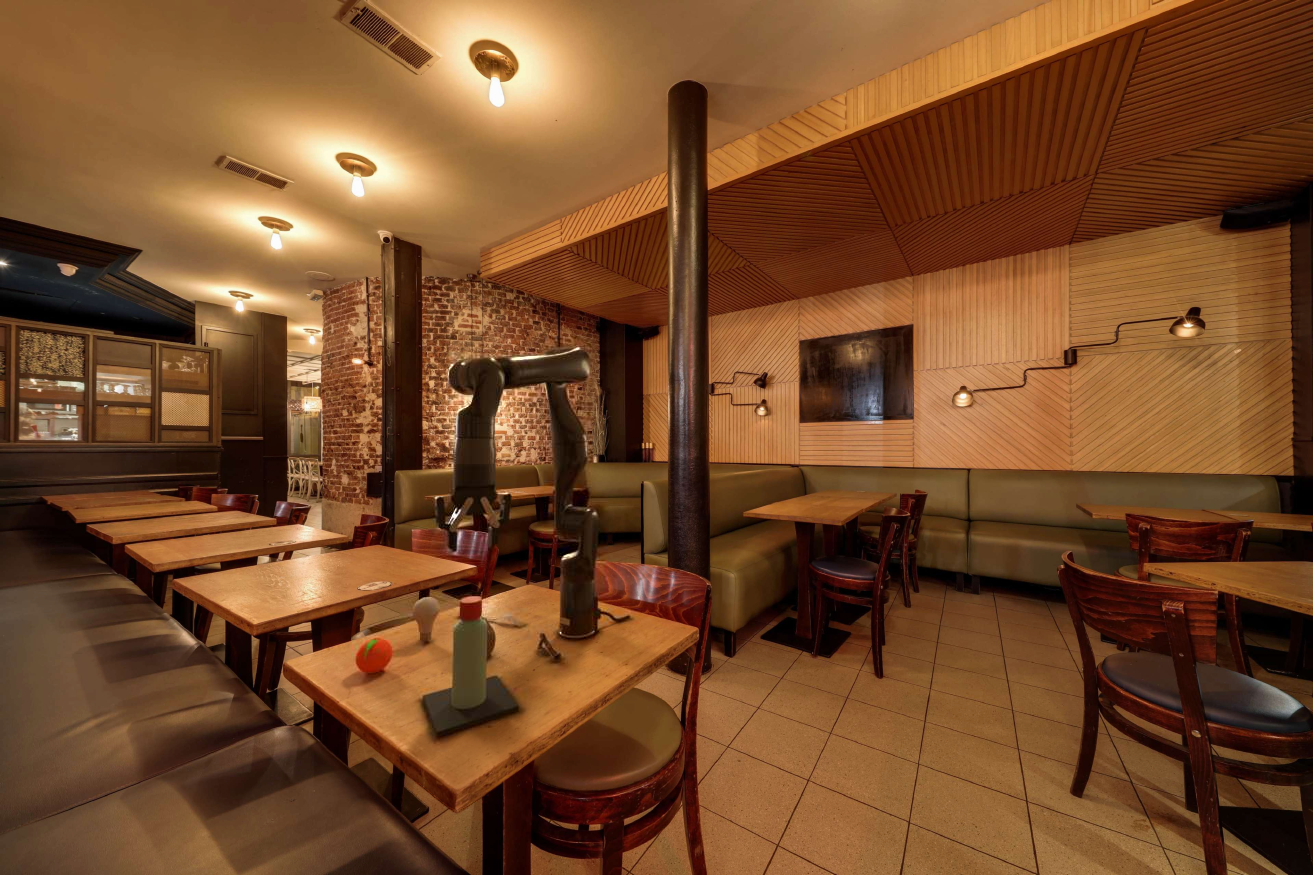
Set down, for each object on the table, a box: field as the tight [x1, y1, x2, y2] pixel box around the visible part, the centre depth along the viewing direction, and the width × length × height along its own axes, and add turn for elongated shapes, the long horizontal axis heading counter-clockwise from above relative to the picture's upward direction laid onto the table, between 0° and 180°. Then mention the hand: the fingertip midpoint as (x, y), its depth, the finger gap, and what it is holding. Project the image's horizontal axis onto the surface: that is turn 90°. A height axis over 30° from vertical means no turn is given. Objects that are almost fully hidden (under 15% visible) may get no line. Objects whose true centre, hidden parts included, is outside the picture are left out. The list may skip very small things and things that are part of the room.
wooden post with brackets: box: [537, 632, 562, 663], centre depth 108 cm, size 2×8×4 cm, turn 46°
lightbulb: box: [411, 596, 441, 643], centre depth 115 cm, size 6×6×11 cm
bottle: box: [451, 617, 488, 709], centre depth 87 cm, size 6×6×18 cm
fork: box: [481, 613, 525, 628], centre depth 129 cm, size 3×21×3 cm, turn 72°
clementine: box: [355, 637, 394, 674], centre depth 99 cm, size 8×7×7 cm
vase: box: [481, 616, 497, 658], centre depth 107 cm, size 7×7×9 cm
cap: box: [458, 595, 483, 621], centre depth 87 cm, size 4×4×3 cm
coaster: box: [422, 674, 520, 739], centre depth 87 cm, size 14×14×1 cm
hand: (473, 548), depth 88 cm, fingers open, 6 cm apart
